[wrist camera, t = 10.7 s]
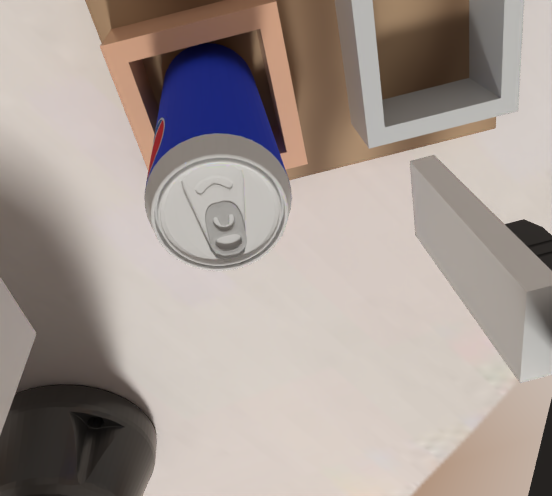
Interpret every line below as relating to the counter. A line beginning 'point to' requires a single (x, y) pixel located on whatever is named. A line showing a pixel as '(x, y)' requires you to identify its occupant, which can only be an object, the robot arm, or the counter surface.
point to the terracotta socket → (193, 31)
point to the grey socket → (440, 99)
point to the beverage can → (215, 164)
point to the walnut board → (332, 65)
